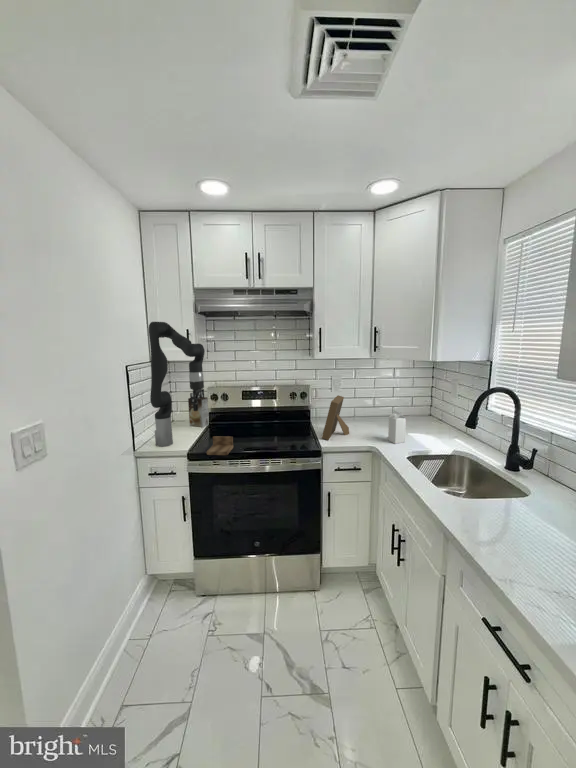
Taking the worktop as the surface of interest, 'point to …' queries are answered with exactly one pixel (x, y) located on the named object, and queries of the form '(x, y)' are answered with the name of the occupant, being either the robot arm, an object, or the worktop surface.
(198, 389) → the robot arm
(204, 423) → the coffee box
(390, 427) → the milk carton
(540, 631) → the worktop surface
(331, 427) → the photo frame
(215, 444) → the ledge
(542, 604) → the worktop surface
